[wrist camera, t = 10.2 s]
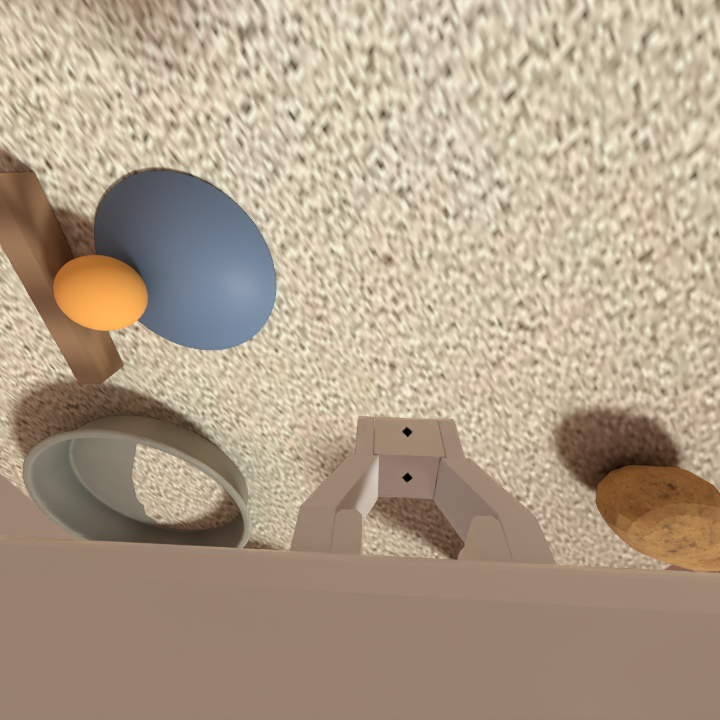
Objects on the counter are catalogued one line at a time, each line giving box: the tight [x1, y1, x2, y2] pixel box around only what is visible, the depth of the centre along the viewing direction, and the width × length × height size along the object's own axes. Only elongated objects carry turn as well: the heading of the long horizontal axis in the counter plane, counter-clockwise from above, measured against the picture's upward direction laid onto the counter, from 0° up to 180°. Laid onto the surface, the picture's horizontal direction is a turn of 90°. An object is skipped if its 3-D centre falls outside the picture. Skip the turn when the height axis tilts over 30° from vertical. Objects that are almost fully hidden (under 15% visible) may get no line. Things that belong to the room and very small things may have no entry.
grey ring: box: [23, 415, 252, 548], centre depth 38 cm, size 25×25×4 cm
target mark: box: [94, 171, 276, 350], centre depth 26 cm, size 14×14×1 cm
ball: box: [53, 255, 148, 331], centre depth 24 cm, size 6×6×6 cm
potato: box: [596, 465, 720, 572], centre depth 32 cm, size 10×14×8 cm
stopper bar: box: [0, 172, 124, 384], centre depth 26 cm, size 16×2×3 cm, turn 1°
